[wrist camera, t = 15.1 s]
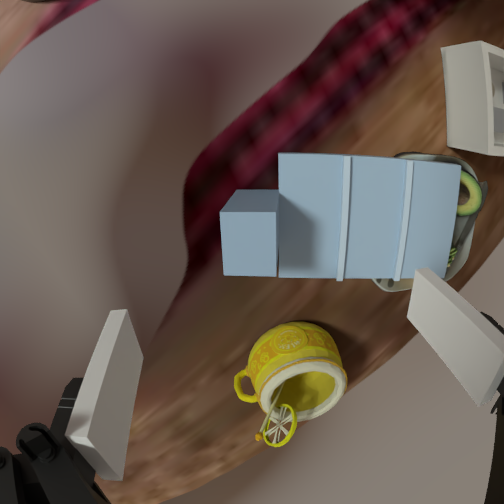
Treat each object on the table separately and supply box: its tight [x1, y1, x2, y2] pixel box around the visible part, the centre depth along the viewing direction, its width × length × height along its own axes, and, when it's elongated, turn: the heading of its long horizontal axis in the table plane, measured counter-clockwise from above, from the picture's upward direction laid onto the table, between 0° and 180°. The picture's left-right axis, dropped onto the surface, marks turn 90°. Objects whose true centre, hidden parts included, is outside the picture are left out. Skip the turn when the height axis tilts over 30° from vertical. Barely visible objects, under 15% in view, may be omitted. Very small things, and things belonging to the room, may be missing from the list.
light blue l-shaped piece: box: [220, 153, 461, 281], centre depth 27 cm, size 12×22×9 cm, turn 92°
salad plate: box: [371, 152, 488, 292], centre depth 33 cm, size 19×18×5 cm
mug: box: [234, 322, 347, 447], centre depth 33 cm, size 13×11×12 cm
